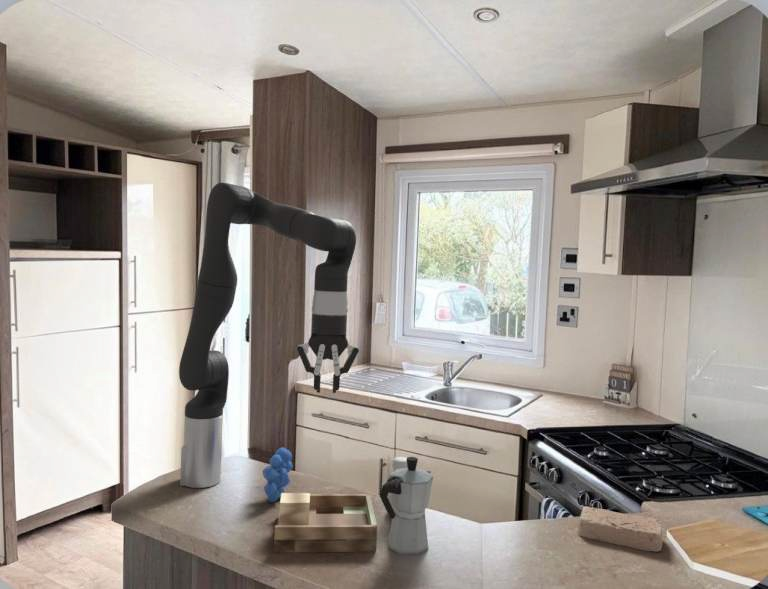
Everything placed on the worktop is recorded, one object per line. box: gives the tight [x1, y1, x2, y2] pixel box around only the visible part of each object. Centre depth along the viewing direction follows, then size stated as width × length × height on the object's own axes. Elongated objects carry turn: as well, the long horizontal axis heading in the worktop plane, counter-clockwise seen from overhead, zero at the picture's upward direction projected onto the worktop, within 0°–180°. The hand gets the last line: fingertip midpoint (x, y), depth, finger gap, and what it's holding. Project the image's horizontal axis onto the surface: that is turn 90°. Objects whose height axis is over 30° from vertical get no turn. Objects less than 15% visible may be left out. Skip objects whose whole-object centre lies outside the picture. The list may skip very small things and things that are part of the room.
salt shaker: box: [388, 456, 408, 510], centre depth 128 cm, size 6×6×13 cm
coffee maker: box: [378, 456, 434, 556], centre depth 113 cm, size 15×9×18 cm, turn 134°
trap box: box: [273, 493, 378, 553], centre depth 117 cm, size 20×16×5 cm
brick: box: [577, 506, 663, 552], centre depth 122 cm, size 17×8×5 cm, turn 66°
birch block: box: [278, 492, 311, 525], centre depth 116 cm, size 6×5×5 cm
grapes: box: [262, 446, 294, 503], centre depth 134 cm, size 12×7×12 cm, turn 165°
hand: (326, 391), depth 120 cm, fingers open, 3 cm apart
